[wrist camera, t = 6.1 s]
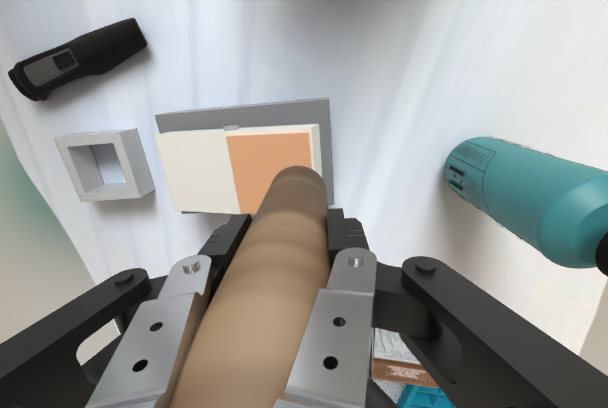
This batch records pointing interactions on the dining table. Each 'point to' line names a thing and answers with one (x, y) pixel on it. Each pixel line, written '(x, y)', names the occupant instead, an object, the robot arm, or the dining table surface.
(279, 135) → the rocker switch
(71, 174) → the holder
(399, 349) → the tin
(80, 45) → the electric trimmer
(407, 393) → the ice cube tray
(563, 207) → the beverage bottle
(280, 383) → the wooden peg
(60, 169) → the dining table surface
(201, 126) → the switch box
